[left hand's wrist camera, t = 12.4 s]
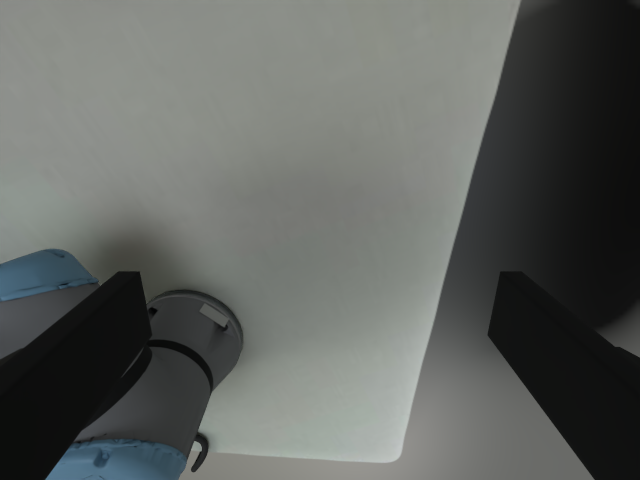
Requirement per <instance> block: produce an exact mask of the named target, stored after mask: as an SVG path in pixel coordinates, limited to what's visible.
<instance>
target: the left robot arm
mask: <svg viewBox="0 0 640 480" xmlns="http://www.w3.org/2000/svg"><path fill="white" fill-rule="evenodd" d="M98 282H99V281H98V279H97V278H94V277H92V276H91V275H90V274H89V273H88V271H87V270H86V269H85V268H84V267H83V266H82V265H81V264H80V263H79V262H78V261H77V259H76V258H75V257H74V256H73V255H72V254H70V253H69V252H67V251H64V250H60V249H45V250H41V251H38V252H34V253H31V254H28V255H25V256H22V257H19V258H16V259H14V260H11V261H8V262H5V263H2V264H0V480H178V479H179V477H180V474H181V473H182V472H183V471H184V469H185V466H186V462H187V459H188V457H189V454H190V451H191V448H192V446H193V443H194V441H197V442H199V443H200V444H201V446H202V451H200V452H199V455H198V457H197V459H196V461H195V463H194V465H193V466H192V468H191V471H192V472H195V471H196V470H197V469H198V468H199V467H200V466H201V464H202V463H203V461H204V460H205V458H206V456H207V453H208V443H207V440H206V439H205V438H204V437H202V436H200V435H197V432H198V429H199V426H200V423H201V421H202V418H203V415H204V412H205V409H206V407H207V404H208V401H209V398H210V396H211V393H212V391H213V390H214V389H215V388H216V387H217V386H218V385H219V384H220V383H221V382H222V380H223V379H224V378H225V377H226V376H227V375H228V374H229V373H230V372H231V370H232V369H233V368H234V366H235V365H236V363H237V361H238V358H239V355H240V352H241V349H242V343H243V338H242V331H241V328H240V325H239V323H238V321H237V319H236V317H235V316H234V315H233V313H232V312H231V311H230V310H229V309H228V308H227V307H226V306H225V305H224V304H222V303H221V302H220V301H218V300H216V299H215V298H213V297H211V296H208V295H206V294H203V293H199V292H195V291H188V290H178V291H171V292H167V293H164V294H161V295H159V296H157V297H155V298H154V299H152V300H151V301H150V302H149V303H148V304H147V305H146V301H145V296H144V291H143V286H142V281H141V276H140V272H117V273H116V274H115V275H114V276H112V277H111V278H110V279H109V280H107V281H106V282H105V283H104V284H102V285H101V286H100V285H99V284H98ZM488 336H489V338H490V339H491V341H492V342H493V343H494V345H495V346H496V347H497V349H498V350H499V351H500V353H501V354H502V355H503V357H504V358H505V359H506V361H507V362H508V363H509V365H510V366H511V367H512V369H513V370H514V372H515V373H516V374H517V375H518V377H519V378H520V380H521V381H522V382H523V384H524V385H525V386H526V388H527V389H528V390H529V392H530V393H531V394H532V396H533V397H534V399H535V400H536V401H537V403H538V404H539V405H540V407H541V408H542V409H543V411H544V412H545V413H546V415H547V416H548V417H549V419H550V420H551V421H552V423H553V424H554V425H555V427H556V428H557V429H558V431H559V432H560V434H561V435H562V436H563V438H564V439H565V440H566V442H567V443H568V444H569V446H570V447H571V448H572V450H573V451H574V452H575V454H576V455H577V457H578V458H579V459H580V461H581V462H582V463H583V464H584V466H585V467H586V469H587V470H588V471H589V473H590V474H591V475H592V477H593V478H594V479H595V480H640V358H639V357H638V356H636V355H634V354H632V353H630V352H628V351H626V350H624V349H622V348H621V347H614V346H613V345H612V344H611V343H610V342H608V341H607V340H606V339H604V338H603V337H602V336H601V335H600V334H598V333H597V332H596V331H595V330H593V329H592V328H591V327H590V326H588V325H587V324H586V323H585V322H583V321H582V320H581V319H580V318H579V317H577V316H576V315H575V314H574V313H572V312H571V311H570V310H569V309H567V308H566V307H565V306H564V305H562V304H561V303H560V302H559V301H557V300H556V299H555V298H554V297H552V296H551V295H550V294H549V293H548V292H546V291H545V290H544V289H543V288H541V287H540V286H539V285H538V284H536V283H535V282H534V281H533V280H531V279H530V278H529V277H528V276H526V275H525V274H524V273H523V272H500V276H499V281H498V286H497V291H496V296H495V301H494V306H493V310H492V315H491V320H490V325H489V330H488Z"/></svg>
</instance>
